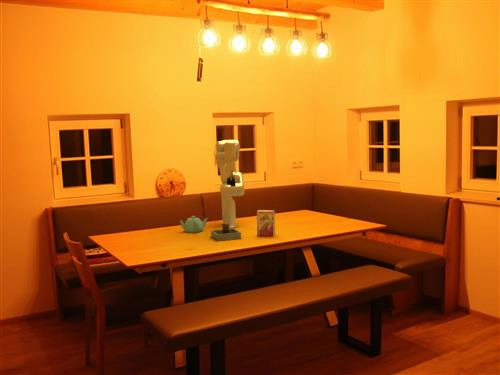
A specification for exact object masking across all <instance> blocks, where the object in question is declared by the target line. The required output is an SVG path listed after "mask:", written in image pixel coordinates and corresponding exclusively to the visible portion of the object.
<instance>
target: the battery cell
mask: <svg viewBox="0 0 500 375" xmlns="http://www.w3.org/2000/svg"><path fill="white" fill-rule="evenodd" d="M221 225H222V227H221V230H222V234H228V233H229V229H230V228H229V224H228V223H227V222H225V223H224V224H223V223H222V224H221Z"/></svg>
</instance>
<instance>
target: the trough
mask: <svg viewBox="0 0 500 375" xmlns="http://www.w3.org/2000/svg"><path fill="white" fill-rule="evenodd" d="M210 235H211V238H212V239H214V241H216V242H222V241H231V240H233V241H234V240H241V239H242V232H241V231H239V230H238V229H236V227H234V228H229V233H228V234H222V229H212V230H210Z"/></svg>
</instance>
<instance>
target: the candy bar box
mask: <svg viewBox="0 0 500 375" xmlns="http://www.w3.org/2000/svg"><path fill="white" fill-rule="evenodd" d="M275 212H276V211H275V210H267V209H266V210H265V209H259V210H258V209H257V210H256V231H257V232H256V235H257V236H261V237H263V236H264V237H274V236H275V235H276V214H275Z"/></svg>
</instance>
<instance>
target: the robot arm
mask: <svg viewBox="0 0 500 375" xmlns="http://www.w3.org/2000/svg"><path fill="white" fill-rule="evenodd" d="M240 147H241V146H240V141H239V140H237V139H223V140H221V141H219V140H218V141H216V143H215V151H216V152H215V153H214V154H215V155H214V157H215V163H216V165H217V167H218V169H219V172H220V173H219V174H220V181H221V183H222V184H221V185H220V187H219V189H220V190H219V191H220V196H221V210H222V211H221V216H222V224H224V223H225V222H227V223H228V224H229V229H233V228H238V227H239V224H238V223H237V221H236V220H237V219H236V218H237V217H236V215H237V214H236V202H235V199H233V198H232V197H240V196H244V195H245V191H246V190H245V183H244V177H243V176H244V175H243V173H242V172H241V171H236V163H237V161H238V160H239V158H240V149H241V148H240ZM222 224H221V225H220V228H222Z"/></svg>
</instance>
